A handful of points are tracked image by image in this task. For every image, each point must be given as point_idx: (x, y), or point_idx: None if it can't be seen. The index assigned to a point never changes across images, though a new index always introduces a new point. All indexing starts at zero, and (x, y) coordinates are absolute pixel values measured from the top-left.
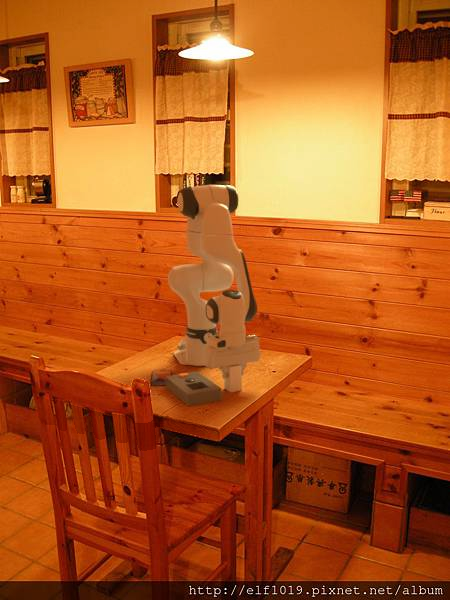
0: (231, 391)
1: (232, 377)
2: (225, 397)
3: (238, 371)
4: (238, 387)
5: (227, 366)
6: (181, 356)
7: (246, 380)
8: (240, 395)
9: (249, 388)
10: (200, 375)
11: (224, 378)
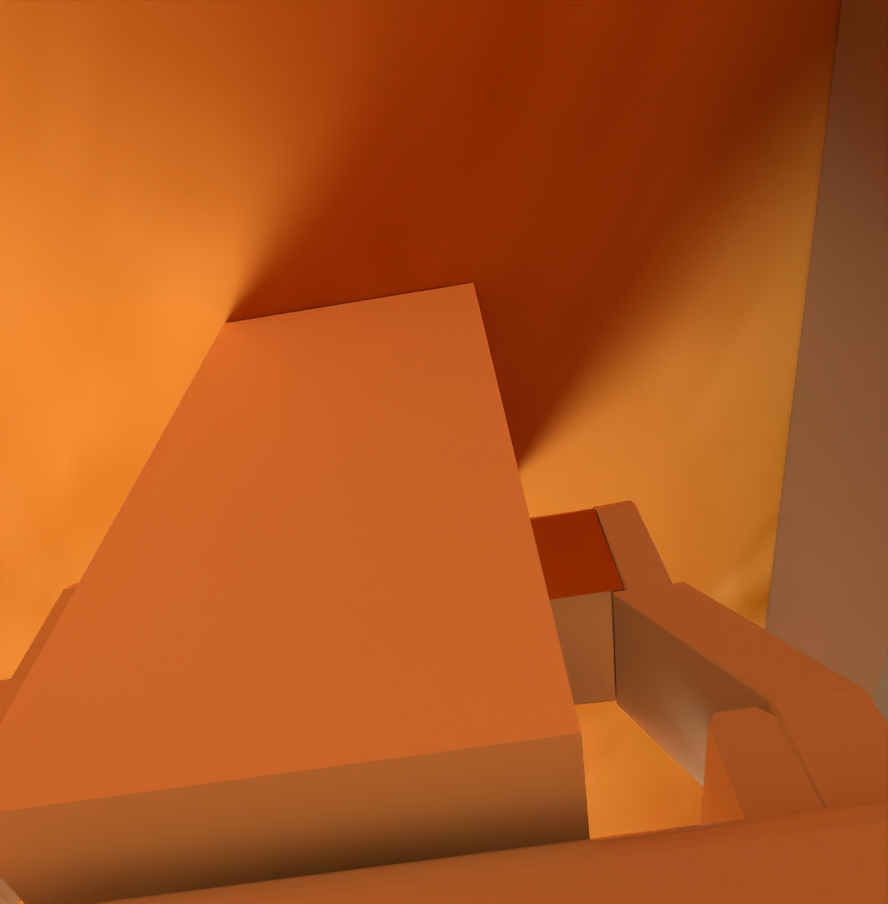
0: (450, 290)
1: (435, 449)
2: (688, 17)
3: (190, 592)
4: (284, 339)
5: None
6: None
7: None
8: (318, 21)
9: (53, 364)
10: None
11: (630, 507)
